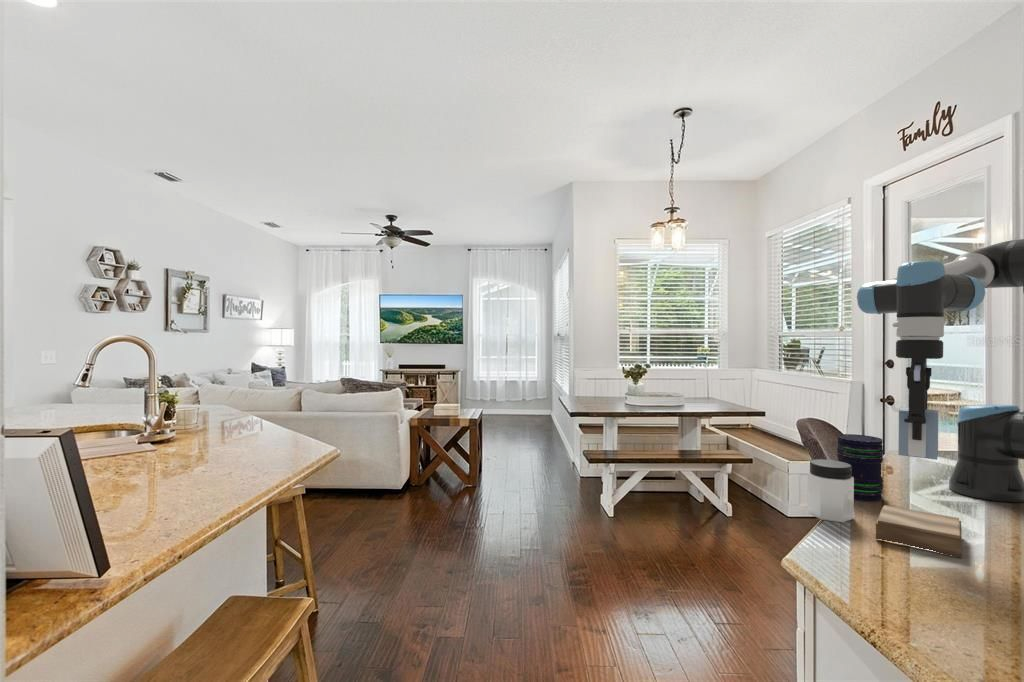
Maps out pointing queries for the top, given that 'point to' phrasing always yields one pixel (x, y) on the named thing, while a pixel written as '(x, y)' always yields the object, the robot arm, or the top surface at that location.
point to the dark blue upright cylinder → (863, 464)
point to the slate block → (930, 433)
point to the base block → (920, 530)
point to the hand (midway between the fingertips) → (917, 453)
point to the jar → (831, 490)
